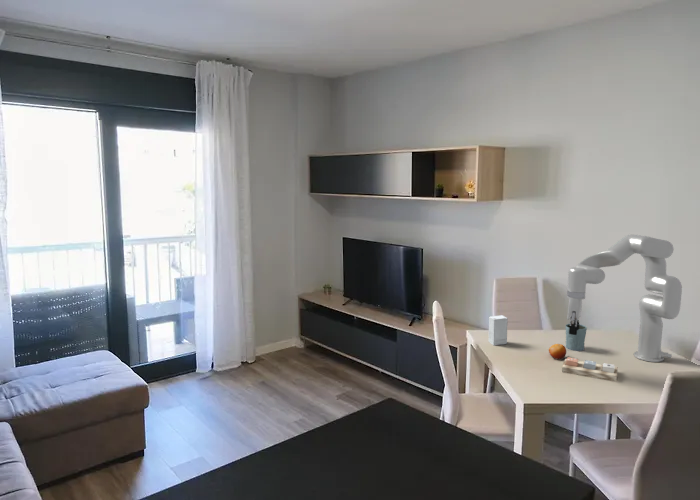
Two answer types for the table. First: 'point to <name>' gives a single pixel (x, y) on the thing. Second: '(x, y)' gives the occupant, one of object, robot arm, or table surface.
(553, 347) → the fruit
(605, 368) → the key
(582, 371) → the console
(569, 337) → the grey-blue cup
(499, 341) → the skincare box
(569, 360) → the key
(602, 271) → the robot arm
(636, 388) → the table surface
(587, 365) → the key
